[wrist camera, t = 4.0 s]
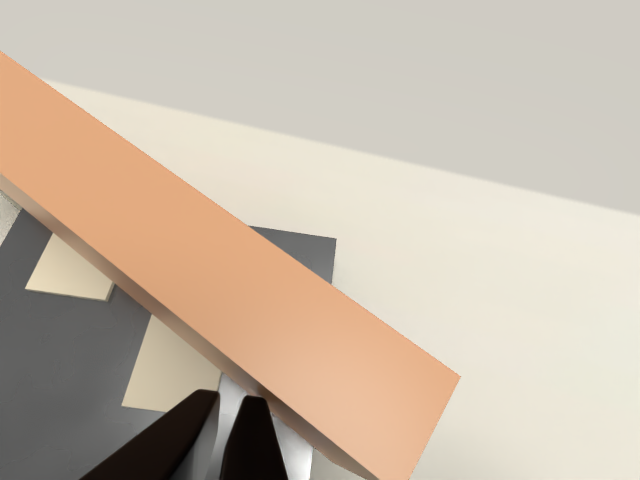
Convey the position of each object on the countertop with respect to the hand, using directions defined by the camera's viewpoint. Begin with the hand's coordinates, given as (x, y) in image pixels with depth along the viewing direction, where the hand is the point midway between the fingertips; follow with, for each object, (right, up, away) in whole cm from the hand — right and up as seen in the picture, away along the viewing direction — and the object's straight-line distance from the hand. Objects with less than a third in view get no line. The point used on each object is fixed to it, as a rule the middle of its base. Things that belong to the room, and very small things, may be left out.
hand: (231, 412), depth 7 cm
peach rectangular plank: (-3, +2, +4) cm, 6 cm away
